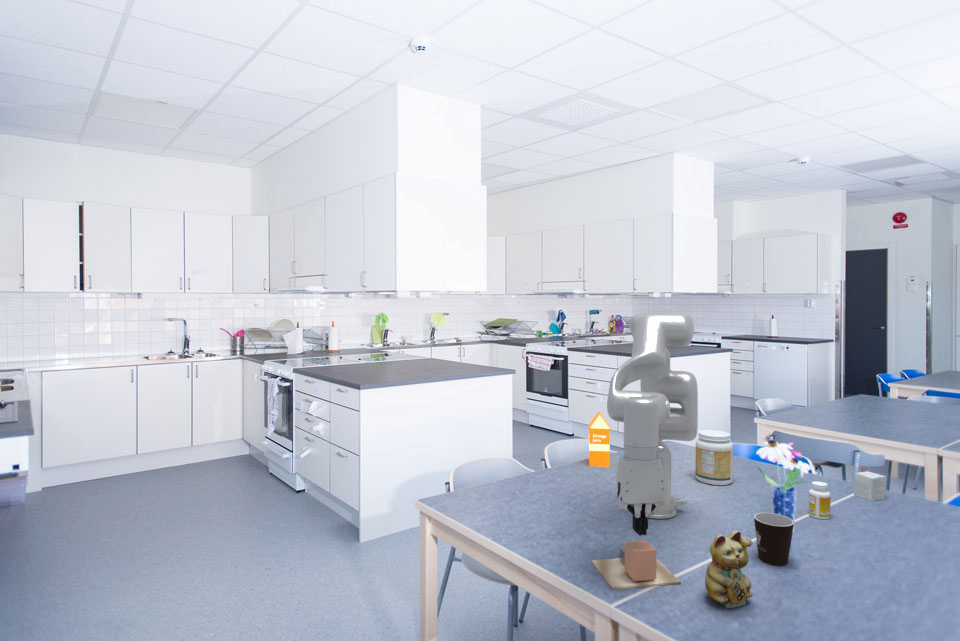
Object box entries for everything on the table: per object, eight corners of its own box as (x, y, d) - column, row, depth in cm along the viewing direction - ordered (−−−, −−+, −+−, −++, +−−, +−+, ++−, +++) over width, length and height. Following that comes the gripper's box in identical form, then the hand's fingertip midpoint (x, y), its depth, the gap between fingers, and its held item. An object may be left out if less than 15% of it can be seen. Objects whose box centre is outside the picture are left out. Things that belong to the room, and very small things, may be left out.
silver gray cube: (630, 559, 135) (630, 547, 135) (634, 564, 132) (634, 552, 132) (619, 560, 135) (619, 548, 134) (624, 565, 132) (624, 553, 132)
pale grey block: (867, 492, 184) (867, 470, 183) (885, 499, 178) (886, 476, 178) (853, 495, 182) (853, 472, 181) (871, 501, 176) (872, 478, 176)
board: (653, 557, 137) (653, 555, 137) (680, 583, 124) (680, 581, 124) (591, 562, 135) (591, 560, 135) (612, 589, 122) (612, 587, 122)
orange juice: (589, 466, 214) (589, 414, 214) (588, 459, 223) (588, 409, 223) (610, 466, 213) (610, 414, 213) (608, 460, 222) (608, 410, 221)
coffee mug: (792, 571, 130) (792, 529, 130) (751, 562, 134) (751, 521, 134) (794, 552, 140) (795, 513, 139) (756, 544, 144) (757, 506, 144)
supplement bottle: (832, 516, 164) (832, 483, 163) (827, 521, 160) (828, 487, 159) (811, 511, 167) (811, 479, 167) (806, 516, 163) (807, 483, 163)
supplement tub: (700, 473, 205) (700, 427, 204) (736, 479, 198) (736, 432, 197) (691, 482, 195) (691, 433, 194) (728, 488, 188) (729, 438, 187)
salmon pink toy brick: (645, 568, 130) (646, 540, 129) (656, 579, 124) (656, 550, 124) (624, 570, 129) (624, 541, 129) (634, 581, 124) (634, 551, 123)
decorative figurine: (724, 614, 112) (724, 540, 112) (693, 594, 120) (693, 525, 119) (758, 604, 116) (759, 532, 116) (726, 585, 124) (727, 518, 123)
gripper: (663, 446, 130) (663, 524, 131) (602, 449, 128) (602, 528, 129) (680, 455, 123) (679, 537, 123) (615, 457, 121) (615, 542, 121)
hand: (640, 532), depth 126 cm, fingers closed
